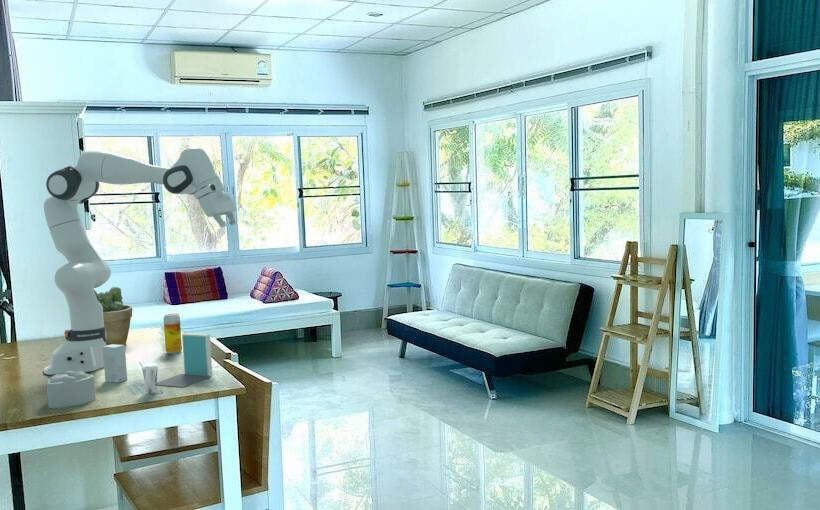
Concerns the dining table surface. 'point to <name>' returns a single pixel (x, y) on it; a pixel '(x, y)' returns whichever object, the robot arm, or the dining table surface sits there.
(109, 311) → the potted plant
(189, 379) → the mat
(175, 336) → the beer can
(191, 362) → the tile
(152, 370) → the milkshake
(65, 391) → the lumpy-topped squat cylinder
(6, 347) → the dining table surface
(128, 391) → the dining table surface
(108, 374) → the skincare box
